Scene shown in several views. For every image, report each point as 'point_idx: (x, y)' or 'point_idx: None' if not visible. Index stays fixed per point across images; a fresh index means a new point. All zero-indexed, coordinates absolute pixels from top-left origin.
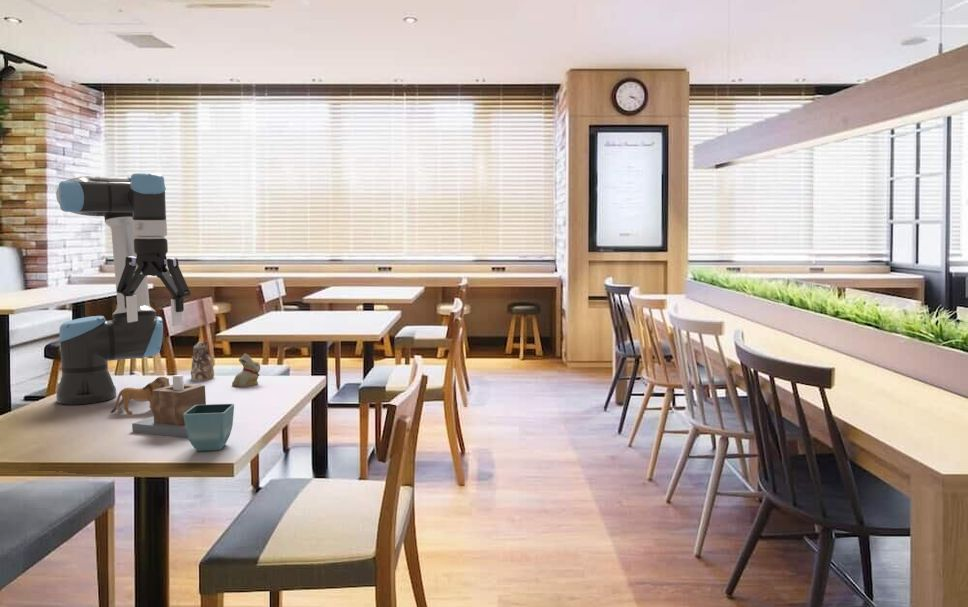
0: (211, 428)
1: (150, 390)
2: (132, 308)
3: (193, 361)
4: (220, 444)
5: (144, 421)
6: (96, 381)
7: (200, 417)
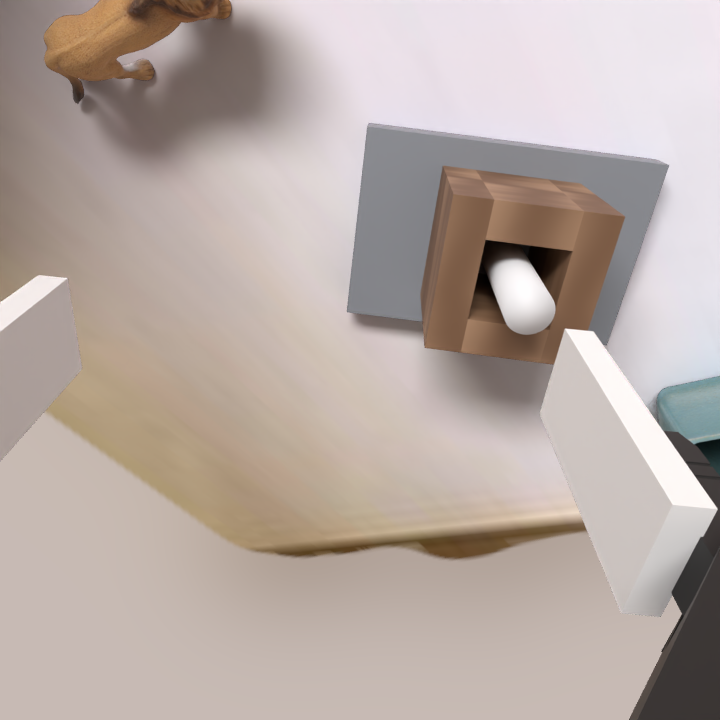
0: None
1: (181, 15)
2: (6, 402)
3: None
4: None
5: (373, 283)
6: None
7: None
